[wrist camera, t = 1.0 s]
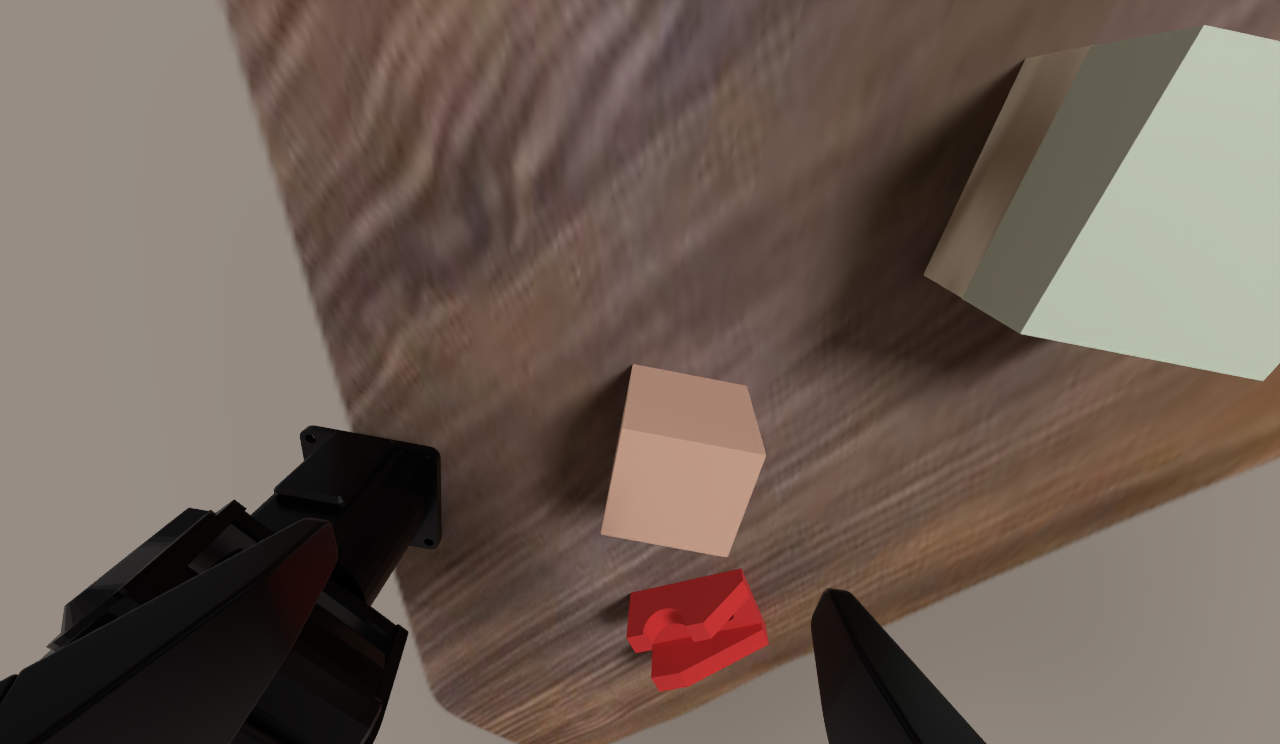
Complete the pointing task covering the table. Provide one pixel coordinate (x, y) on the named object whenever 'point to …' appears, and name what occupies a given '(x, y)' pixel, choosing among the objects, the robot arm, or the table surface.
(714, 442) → the tan block
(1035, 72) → the block
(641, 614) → the bracket
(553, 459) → the table surface
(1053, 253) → the tower top
